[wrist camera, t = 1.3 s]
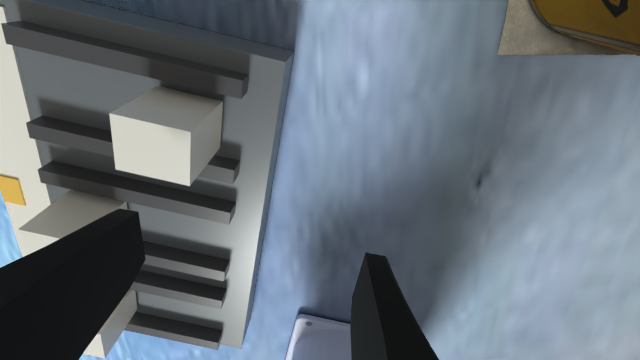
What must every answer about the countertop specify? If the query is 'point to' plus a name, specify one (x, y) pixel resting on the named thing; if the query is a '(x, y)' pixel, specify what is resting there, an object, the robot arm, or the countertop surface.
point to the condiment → (571, 27)
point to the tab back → (113, 326)
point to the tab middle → (65, 218)
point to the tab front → (166, 134)
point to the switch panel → (137, 190)
